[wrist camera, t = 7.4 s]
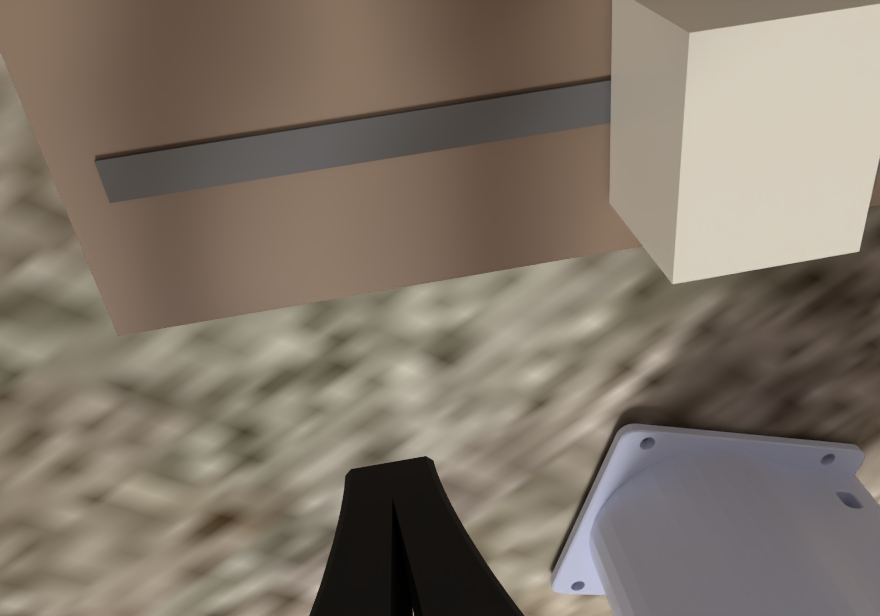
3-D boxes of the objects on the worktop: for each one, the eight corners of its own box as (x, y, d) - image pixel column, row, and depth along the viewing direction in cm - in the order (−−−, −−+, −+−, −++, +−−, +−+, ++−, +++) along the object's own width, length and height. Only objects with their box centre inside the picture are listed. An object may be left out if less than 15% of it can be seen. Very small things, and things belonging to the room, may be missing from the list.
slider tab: (794, -40, 17) (914, -2, 13) (766, 176, 19) (858, 251, 16) (612, -13, 16) (689, 32, 13) (609, 203, 19) (672, 283, 16)
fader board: (958, -153, 18) (1039, -148, 16) (884, 175, 22) (940, 211, 20) (2, -19, 16) (-38, 5, 14) (128, 303, 21) (111, 355, 19)
